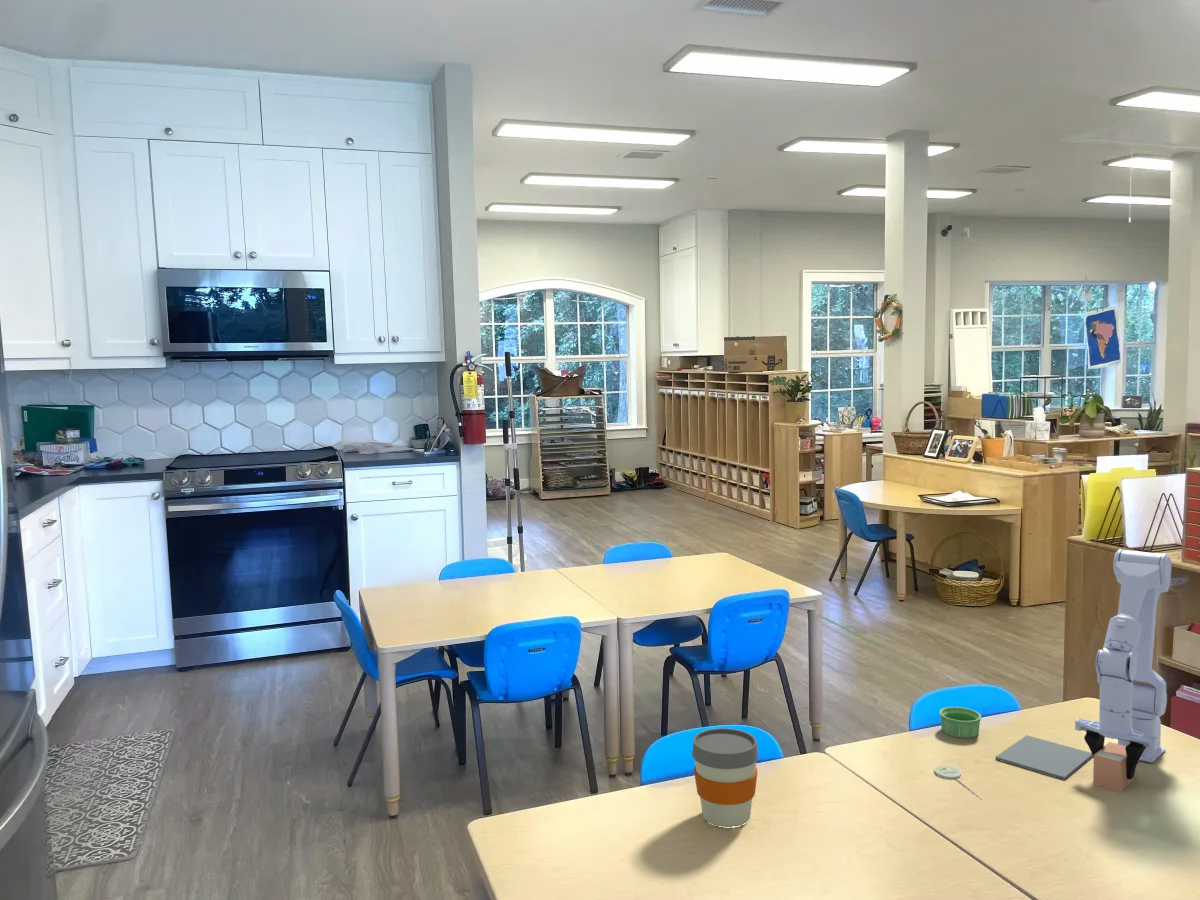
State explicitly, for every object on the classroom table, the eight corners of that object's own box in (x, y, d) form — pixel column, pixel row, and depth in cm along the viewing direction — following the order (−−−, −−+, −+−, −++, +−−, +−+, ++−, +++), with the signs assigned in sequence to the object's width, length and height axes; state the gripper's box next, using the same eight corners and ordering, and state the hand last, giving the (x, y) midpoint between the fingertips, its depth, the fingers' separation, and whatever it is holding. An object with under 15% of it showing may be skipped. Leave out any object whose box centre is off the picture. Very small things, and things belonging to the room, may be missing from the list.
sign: (971, 800, 169) (929, 766, 184) (970, 805, 169) (929, 770, 184) (995, 798, 170) (952, 764, 184) (995, 802, 170) (952, 768, 184)
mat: (1026, 737, 198) (1026, 735, 198) (1093, 756, 188) (1093, 753, 187) (995, 759, 187) (995, 756, 187) (1064, 779, 177) (1064, 777, 177)
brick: (1109, 769, 181) (1109, 741, 181) (1135, 777, 177) (1136, 748, 177) (1093, 783, 175) (1093, 754, 175) (1120, 791, 171) (1121, 761, 171)
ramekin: (944, 739, 199) (944, 720, 199) (935, 723, 208) (935, 706, 207) (985, 740, 197) (985, 721, 197) (975, 725, 206) (975, 707, 206)
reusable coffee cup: (758, 836, 159) (757, 756, 158) (690, 830, 161) (688, 752, 160) (760, 803, 171) (759, 729, 170) (696, 799, 173) (694, 726, 172)
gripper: (1069, 704, 178) (1069, 768, 179) (1150, 723, 167) (1149, 791, 168) (1082, 695, 183) (1081, 757, 184) (1161, 713, 172) (1160, 779, 173)
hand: (1114, 773), depth 176 cm, fingers closed on brick, 5 cm apart
